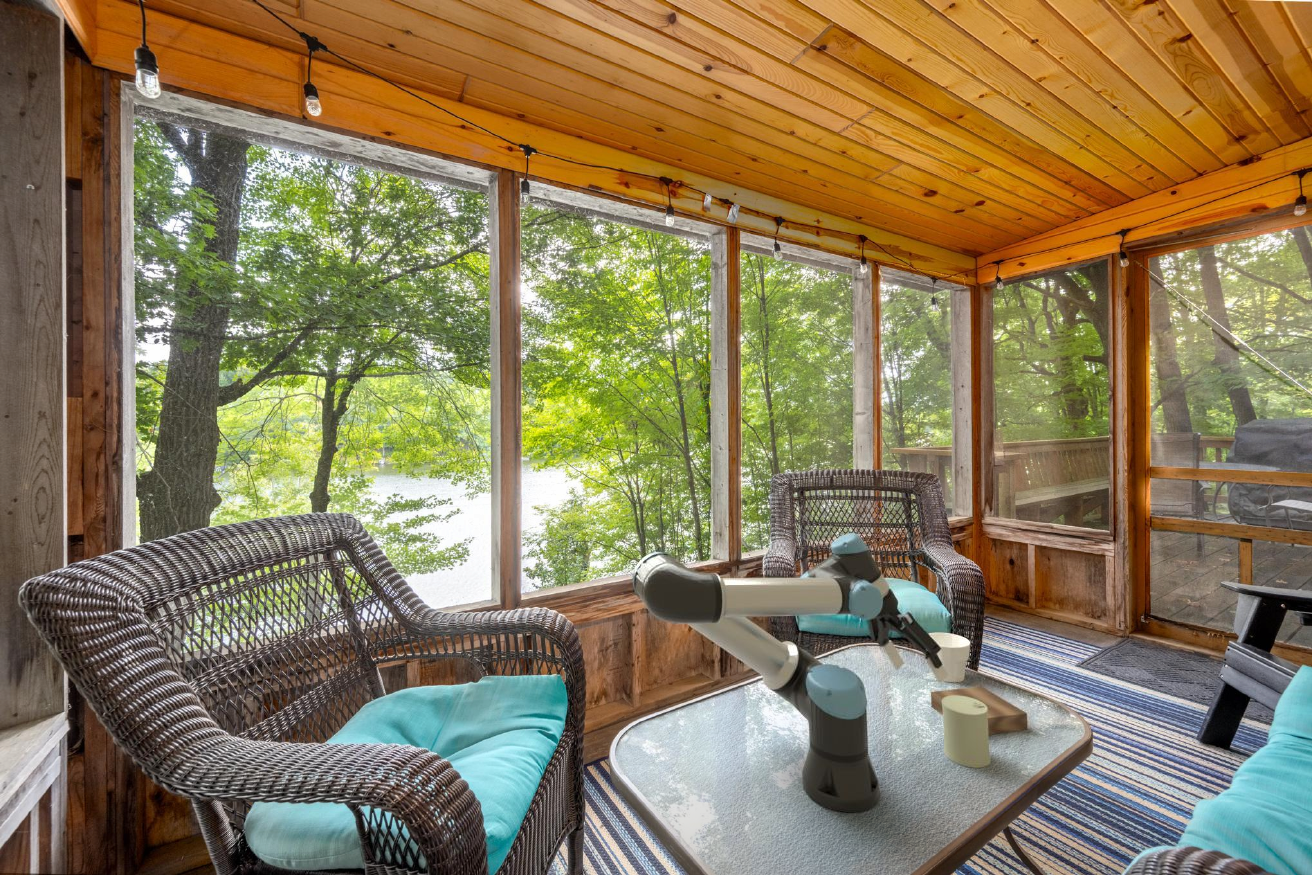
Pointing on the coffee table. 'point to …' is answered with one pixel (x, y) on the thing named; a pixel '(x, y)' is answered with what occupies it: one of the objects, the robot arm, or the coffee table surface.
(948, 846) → the coffee table surface
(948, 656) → the cup
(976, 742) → the can
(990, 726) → the plinth
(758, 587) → the robot arm
